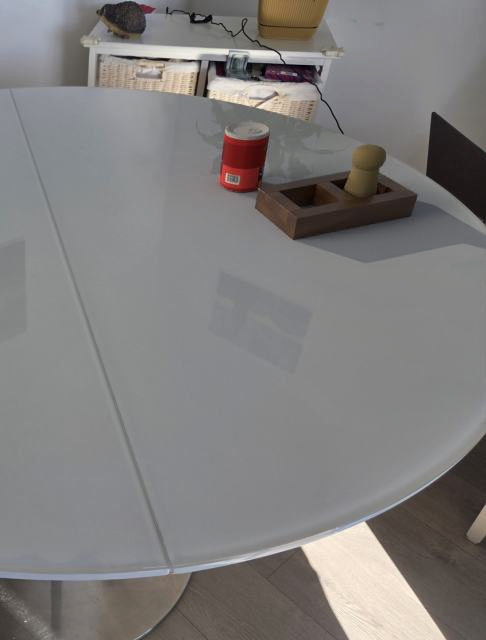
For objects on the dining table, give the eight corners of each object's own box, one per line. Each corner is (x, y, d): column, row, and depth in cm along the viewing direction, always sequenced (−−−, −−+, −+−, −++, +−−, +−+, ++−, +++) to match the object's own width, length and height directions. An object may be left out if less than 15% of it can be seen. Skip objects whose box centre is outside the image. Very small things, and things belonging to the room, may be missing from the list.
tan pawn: (355, 218, 111) (372, 157, 104) (329, 204, 115) (343, 145, 109) (382, 209, 113) (399, 149, 106) (355, 196, 117) (370, 137, 110)
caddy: (411, 216, 110) (418, 194, 108) (292, 239, 107) (297, 218, 104) (364, 186, 120) (370, 166, 117) (254, 207, 117) (258, 187, 114)
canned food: (266, 191, 121) (276, 134, 114) (224, 194, 122) (231, 138, 115) (254, 174, 127) (263, 119, 120) (214, 177, 127) (220, 123, 121)
